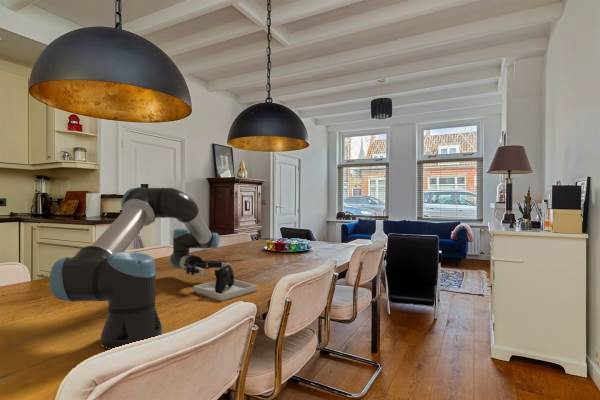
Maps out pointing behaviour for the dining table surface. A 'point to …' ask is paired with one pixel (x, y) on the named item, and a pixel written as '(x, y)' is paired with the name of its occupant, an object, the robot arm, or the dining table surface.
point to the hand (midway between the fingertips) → (218, 269)
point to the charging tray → (225, 290)
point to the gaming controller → (224, 278)
